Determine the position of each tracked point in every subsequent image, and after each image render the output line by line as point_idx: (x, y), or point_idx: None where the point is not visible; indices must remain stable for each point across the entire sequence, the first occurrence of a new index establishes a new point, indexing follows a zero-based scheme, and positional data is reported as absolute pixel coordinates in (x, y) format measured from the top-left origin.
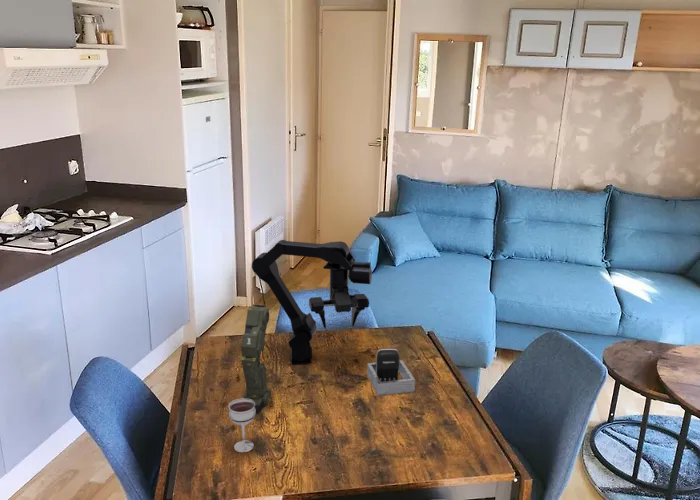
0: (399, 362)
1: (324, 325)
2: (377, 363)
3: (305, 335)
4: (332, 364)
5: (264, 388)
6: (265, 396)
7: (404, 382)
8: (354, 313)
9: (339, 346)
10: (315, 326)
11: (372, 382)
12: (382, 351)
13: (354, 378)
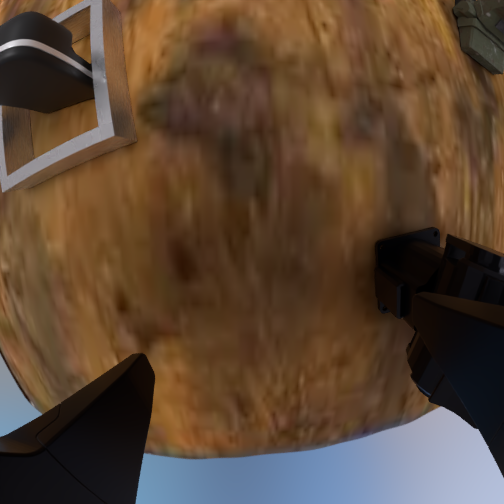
0: (10, 175)
1: (446, 299)
2: (60, 27)
3: (492, 252)
4: (288, 230)
5: (484, 2)
6: (468, 2)
7: None
8: (49, 445)
9: (256, 375)
10: (427, 373)
11: (120, 63)
12: (4, 33)
13: (190, 106)
